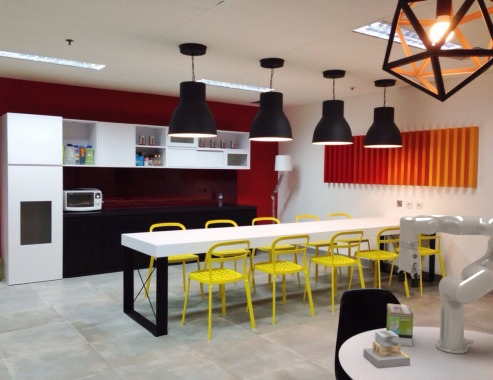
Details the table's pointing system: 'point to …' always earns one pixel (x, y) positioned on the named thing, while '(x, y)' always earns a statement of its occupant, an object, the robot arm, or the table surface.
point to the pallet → (386, 350)
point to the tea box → (400, 322)
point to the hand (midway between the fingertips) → (407, 284)
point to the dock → (386, 359)
